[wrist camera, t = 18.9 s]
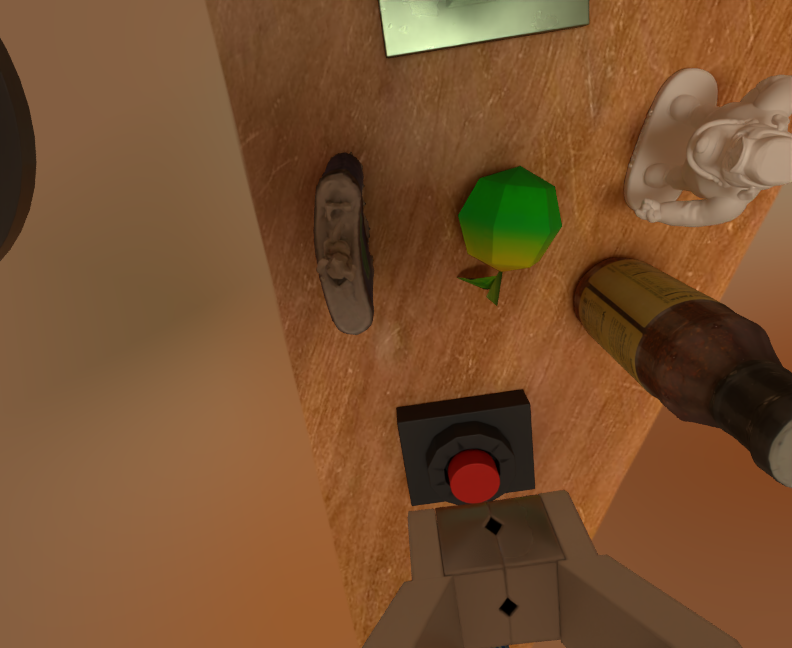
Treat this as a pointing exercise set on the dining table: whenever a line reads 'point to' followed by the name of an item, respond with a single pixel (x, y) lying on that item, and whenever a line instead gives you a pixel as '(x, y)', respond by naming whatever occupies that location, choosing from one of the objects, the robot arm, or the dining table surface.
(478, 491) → the button
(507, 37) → the bracket
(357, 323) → the eggplant half
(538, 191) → the apple
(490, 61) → the dining table surface
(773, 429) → the sauce bottle
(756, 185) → the figurine
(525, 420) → the control block
